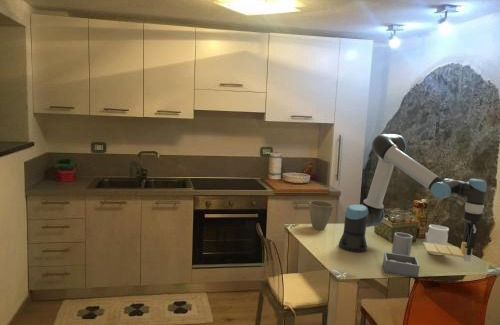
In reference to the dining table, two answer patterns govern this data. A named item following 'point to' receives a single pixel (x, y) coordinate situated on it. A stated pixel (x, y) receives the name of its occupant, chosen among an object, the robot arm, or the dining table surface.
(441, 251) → the lid
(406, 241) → the cup
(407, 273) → the tub
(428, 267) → the dining table surface
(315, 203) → the plant pot
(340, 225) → the dining table surface
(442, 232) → the jar
